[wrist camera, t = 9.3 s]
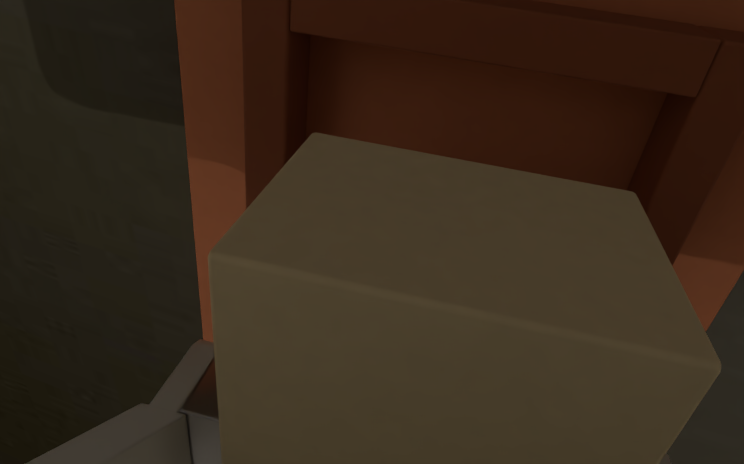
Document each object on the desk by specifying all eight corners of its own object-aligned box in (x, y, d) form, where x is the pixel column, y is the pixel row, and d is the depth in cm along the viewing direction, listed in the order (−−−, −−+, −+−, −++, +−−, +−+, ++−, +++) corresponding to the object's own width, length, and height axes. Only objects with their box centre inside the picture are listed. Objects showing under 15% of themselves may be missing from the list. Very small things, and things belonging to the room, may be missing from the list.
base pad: (185, -136, 11) (113, -148, 9) (898, -45, 10) (1011, -33, 7) (220, 379, 20) (187, 434, 18) (599, 472, 18) (612, 545, 16)
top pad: (312, 129, 9) (204, 252, 6) (636, 190, 8) (727, 368, 5) (295, 449, 14) (230, 618, 11) (501, 502, 13) (503, 700, 10)
